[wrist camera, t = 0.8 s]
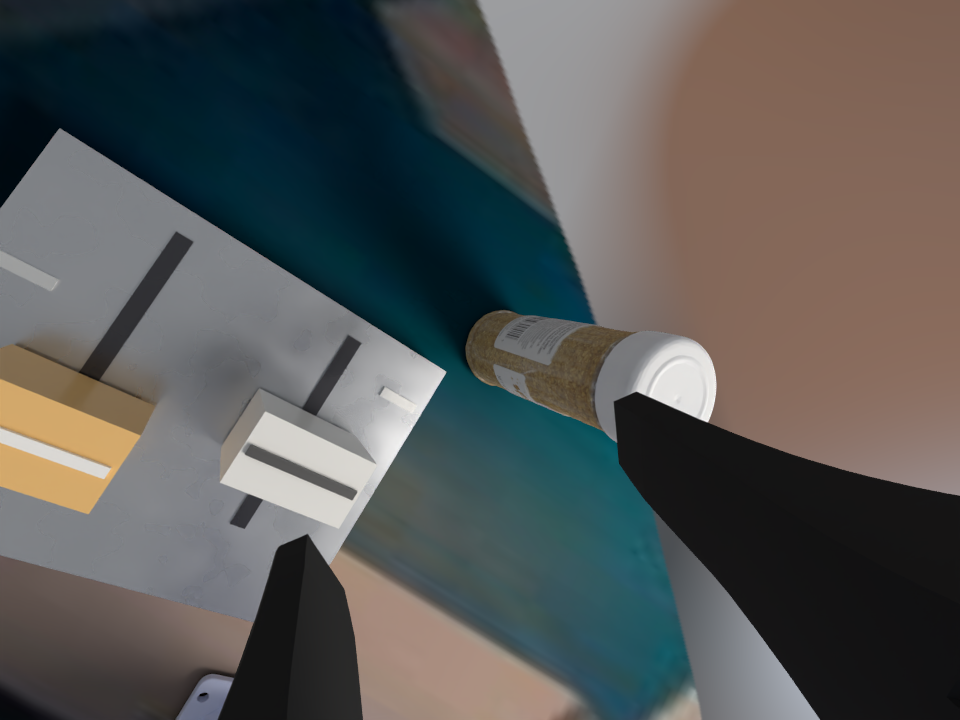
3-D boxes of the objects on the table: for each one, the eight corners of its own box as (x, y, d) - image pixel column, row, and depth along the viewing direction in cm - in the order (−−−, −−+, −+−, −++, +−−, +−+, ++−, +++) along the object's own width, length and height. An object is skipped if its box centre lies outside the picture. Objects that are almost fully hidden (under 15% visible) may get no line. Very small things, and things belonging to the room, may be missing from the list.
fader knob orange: (112, 470, 20) (87, 516, 16) (-39, 415, 18) (-109, 454, 14) (155, 406, 20) (140, 436, 17) (11, 343, 18) (-43, 363, 14)
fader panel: (285, 607, 26) (289, 633, 25) (-171, 476, 18) (-216, 500, 16) (432, 365, 28) (447, 372, 26) (74, 140, 20) (58, 127, 18)
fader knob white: (322, 490, 24) (339, 530, 20) (220, 447, 22) (219, 484, 18) (355, 435, 24) (378, 466, 21) (259, 387, 22) (265, 412, 18)
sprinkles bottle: (466, 391, 29) (630, 476, 17) (459, 313, 28) (628, 348, 16) (533, 376, 31) (721, 443, 19) (528, 303, 30) (724, 327, 18)
